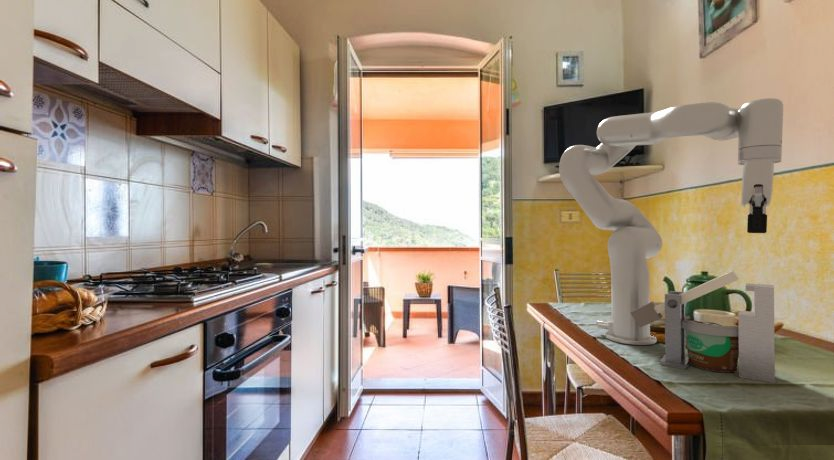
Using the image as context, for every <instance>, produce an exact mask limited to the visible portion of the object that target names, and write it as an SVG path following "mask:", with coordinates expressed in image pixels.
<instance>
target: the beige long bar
mask: <svg viewBox="0 0 834 460" xmlns="http://www.w3.org/2000/svg"><path fill="white" fill-rule="evenodd" d="M738 280H739V277H738V275H737V274H736V273H735V272H734V270H730V271H729V272H726V273H724V274H722V275H720V276H717V277H715V278H712V279H711V280H708V281H706V282H704V283H702V284H699V285H697V286H694V287H692V288H690V289H688V290H686V291H683V292H684V293H681V294H679V295H681V305H682V304H684V303H685V304H686V303H688V302H691V301H694V300H695V299H696V300H697V299H698V298H700V297H702V296H705V295H707V294H709V293H711V292H714V291H716V290H719V289H720V288H723V287H725V286H727V285H729V284H730V285H731V284H732V283H734V282H737V281H738ZM663 312H665V301H664V302H662V303H660V304H657V305H656V304H655V303H654V301H650V303H648V304H646V305H644V306H642V307H640V308H638V309H635V310H633V311H632V312H630V313H631V315H632V316H633V318H634V319H635V321H636V323H637V324H638V326H639V327H643V326H645V325H647V324H650V325H651V323H654V322H657V321H659V320H662V318H663V315H662V314H661V313H663Z"/></svg>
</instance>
